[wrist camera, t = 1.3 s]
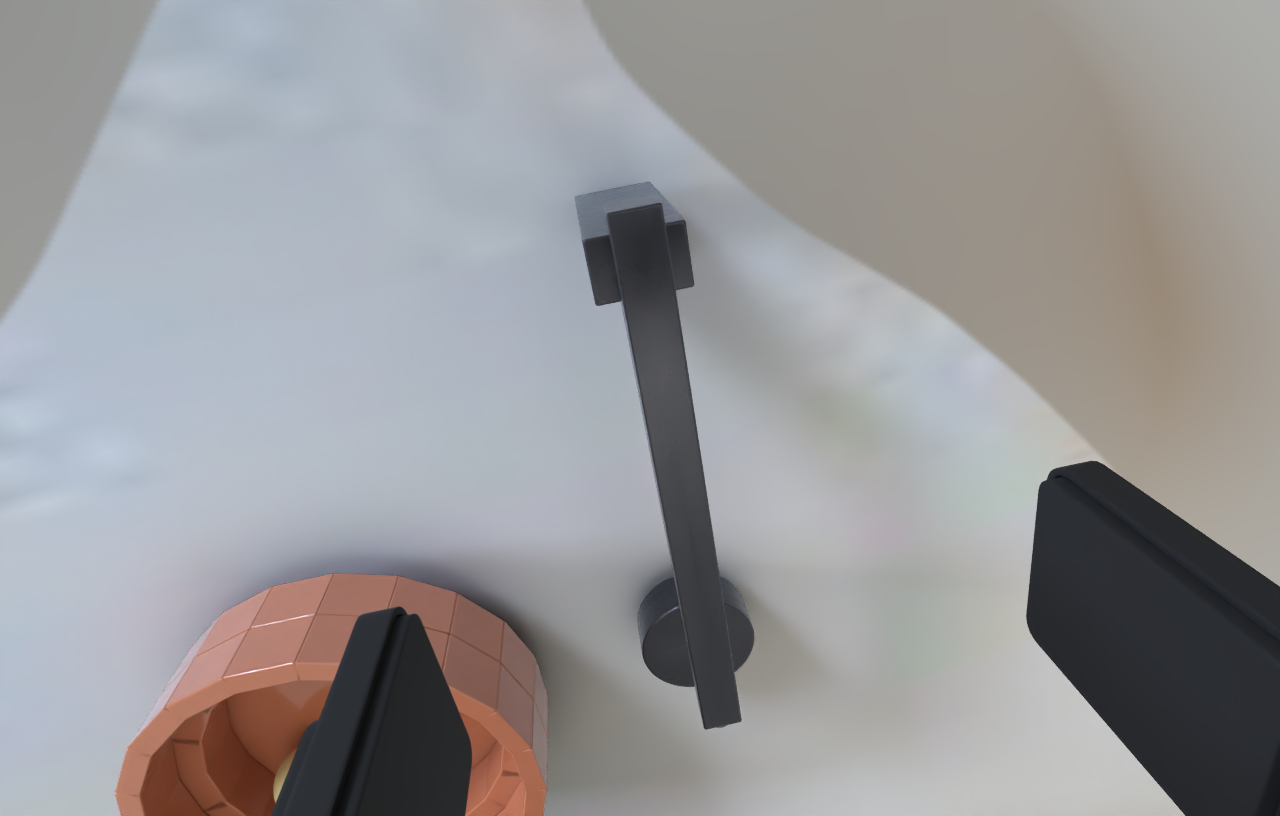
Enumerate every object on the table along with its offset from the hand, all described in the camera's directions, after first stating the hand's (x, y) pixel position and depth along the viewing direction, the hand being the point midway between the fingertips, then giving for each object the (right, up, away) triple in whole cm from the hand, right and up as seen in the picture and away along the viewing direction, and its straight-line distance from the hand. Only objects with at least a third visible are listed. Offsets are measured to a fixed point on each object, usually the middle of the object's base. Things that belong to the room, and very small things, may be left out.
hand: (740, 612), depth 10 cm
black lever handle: (-1, +1, +15) cm, 15 cm away
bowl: (-13, -9, +19) cm, 25 cm away
